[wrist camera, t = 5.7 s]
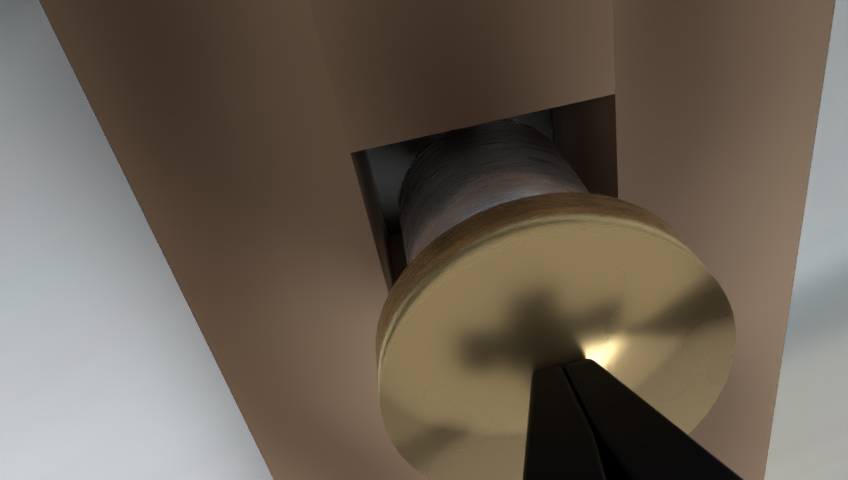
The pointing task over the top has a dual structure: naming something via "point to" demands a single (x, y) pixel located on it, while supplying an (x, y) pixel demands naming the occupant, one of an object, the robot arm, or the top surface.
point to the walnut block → (426, 115)
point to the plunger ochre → (532, 302)
